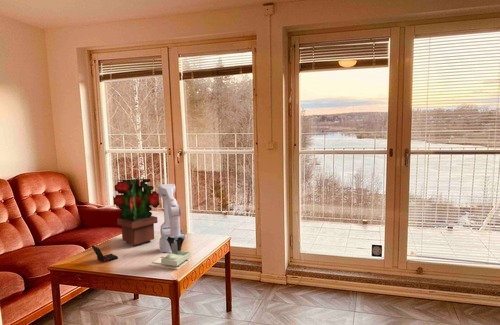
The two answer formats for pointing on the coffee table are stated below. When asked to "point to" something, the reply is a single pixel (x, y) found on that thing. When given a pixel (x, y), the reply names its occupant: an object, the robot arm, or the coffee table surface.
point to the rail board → (158, 264)
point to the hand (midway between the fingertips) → (176, 250)
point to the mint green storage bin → (176, 258)
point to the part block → (175, 248)
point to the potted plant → (136, 210)
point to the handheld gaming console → (104, 258)
